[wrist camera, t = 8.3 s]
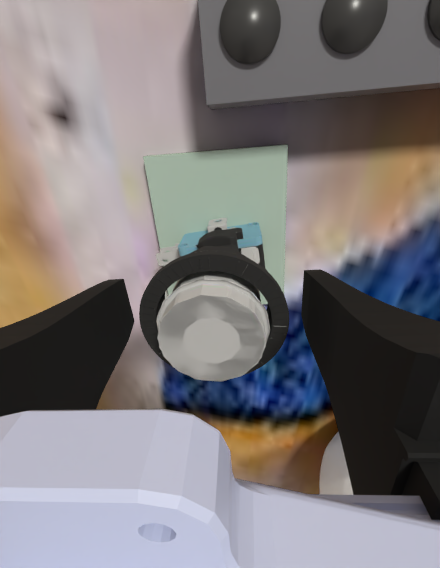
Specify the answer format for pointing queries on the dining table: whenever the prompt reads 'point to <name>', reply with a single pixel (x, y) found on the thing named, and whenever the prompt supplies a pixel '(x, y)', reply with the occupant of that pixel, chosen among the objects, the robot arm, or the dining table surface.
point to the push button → (215, 304)
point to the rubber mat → (222, 196)
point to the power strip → (316, 49)
